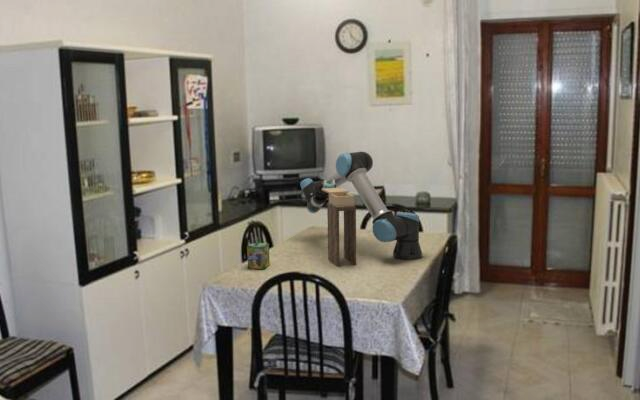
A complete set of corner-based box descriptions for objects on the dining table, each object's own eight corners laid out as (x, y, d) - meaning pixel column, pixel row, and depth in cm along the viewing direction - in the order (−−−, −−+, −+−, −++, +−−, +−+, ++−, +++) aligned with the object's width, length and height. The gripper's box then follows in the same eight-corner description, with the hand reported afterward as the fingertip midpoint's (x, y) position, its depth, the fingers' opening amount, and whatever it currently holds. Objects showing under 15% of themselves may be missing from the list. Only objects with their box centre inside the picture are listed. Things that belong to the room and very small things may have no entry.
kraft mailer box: (354, 205, 312) (354, 195, 311) (336, 206, 310) (336, 196, 309) (345, 201, 324) (345, 192, 324) (328, 202, 322) (328, 193, 321)
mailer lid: (348, 192, 320) (348, 188, 320) (329, 193, 318) (329, 189, 317) (333, 186, 344) (333, 182, 343) (315, 187, 341) (315, 183, 340)
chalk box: (265, 269, 311) (264, 240, 308) (247, 269, 312) (246, 239, 310) (270, 264, 320) (269, 236, 317) (253, 264, 321) (251, 235, 319)
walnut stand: (356, 265, 316) (355, 206, 311) (337, 266, 313) (336, 207, 308) (346, 257, 330) (345, 201, 325) (328, 259, 327) (327, 202, 323)
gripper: (334, 203, 355) (346, 187, 334) (305, 205, 350) (315, 189, 329) (332, 191, 358) (343, 174, 337) (303, 193, 353) (313, 176, 332)
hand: (329, 182), depth 333 cm, fingers closed on mailer lid, 4 cm apart
